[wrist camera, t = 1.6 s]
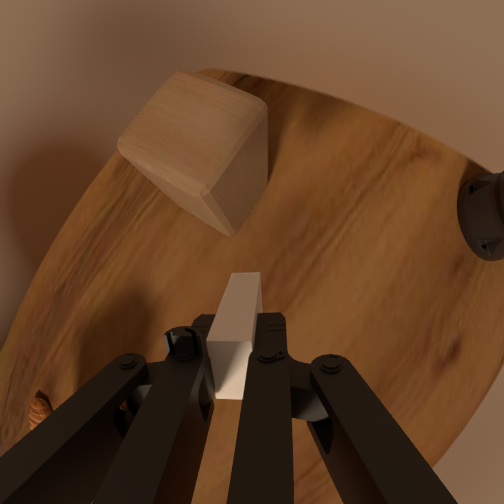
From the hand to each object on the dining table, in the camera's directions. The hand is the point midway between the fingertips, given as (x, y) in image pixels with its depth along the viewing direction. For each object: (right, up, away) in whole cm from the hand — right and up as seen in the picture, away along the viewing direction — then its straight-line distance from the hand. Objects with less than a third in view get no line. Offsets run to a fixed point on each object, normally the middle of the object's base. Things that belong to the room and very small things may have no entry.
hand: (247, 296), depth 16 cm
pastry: (-40, -31, +22) cm, 55 cm away
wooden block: (-4, +11, +25) cm, 28 cm away
